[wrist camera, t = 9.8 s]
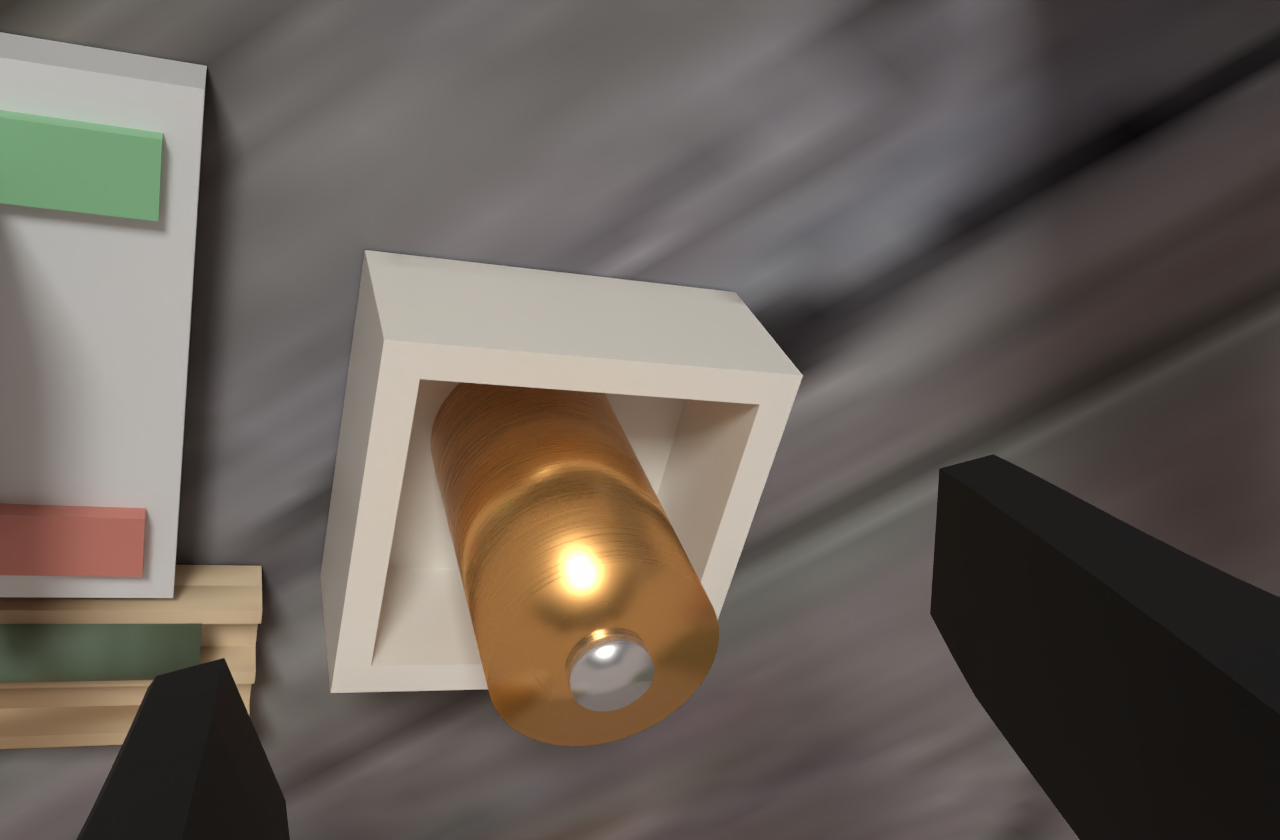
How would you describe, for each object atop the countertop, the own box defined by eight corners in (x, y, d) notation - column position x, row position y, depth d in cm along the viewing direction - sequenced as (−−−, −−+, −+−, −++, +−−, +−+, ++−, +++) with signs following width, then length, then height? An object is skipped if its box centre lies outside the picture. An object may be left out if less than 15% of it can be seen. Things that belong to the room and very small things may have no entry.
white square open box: (735, 292, 21) (802, 375, 19) (647, 579, 25) (695, 684, 22) (364, 250, 19) (384, 339, 16) (320, 575, 22) (330, 692, 20)
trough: (261, 565, 22) (262, 629, 20) (248, 691, 23) (248, 760, 22) (-181, 559, 19) (-215, 631, 18) (-163, 700, 21) (-194, 778, 19)
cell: (571, 324, 20) (684, 544, 15) (637, 461, 22) (756, 697, 17) (397, 408, 20) (450, 659, 15) (478, 539, 22) (550, 799, 17)
